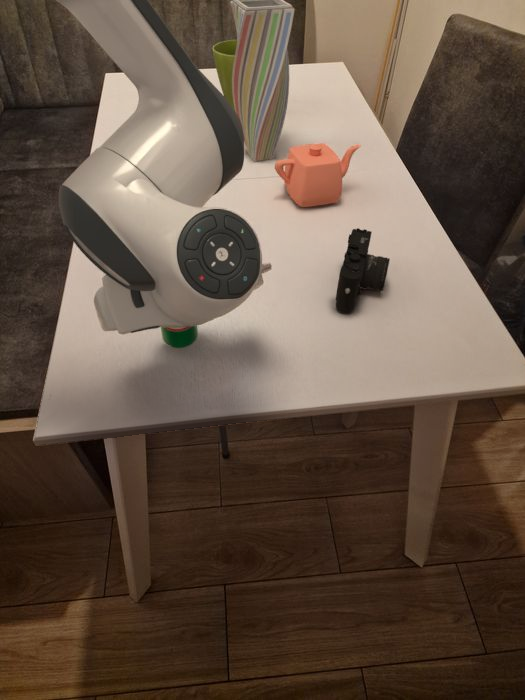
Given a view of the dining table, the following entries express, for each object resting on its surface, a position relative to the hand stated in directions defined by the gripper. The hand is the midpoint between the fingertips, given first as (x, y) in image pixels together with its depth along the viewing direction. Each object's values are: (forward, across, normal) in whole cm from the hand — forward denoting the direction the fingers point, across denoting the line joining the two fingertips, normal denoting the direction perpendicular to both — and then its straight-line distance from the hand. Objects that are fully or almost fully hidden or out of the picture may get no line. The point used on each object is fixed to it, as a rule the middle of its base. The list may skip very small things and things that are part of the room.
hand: (173, 300), depth 66 cm
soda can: (+4, 0, +5) cm, 7 cm away
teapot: (+27, -39, -16) cm, 50 cm away
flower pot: (+60, -42, -49) cm, 89 cm away
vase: (+42, -36, -31) cm, 64 cm away
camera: (+5, -31, +6) cm, 32 cm away
